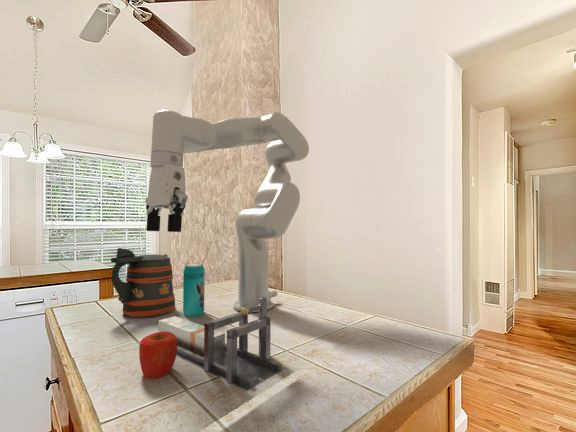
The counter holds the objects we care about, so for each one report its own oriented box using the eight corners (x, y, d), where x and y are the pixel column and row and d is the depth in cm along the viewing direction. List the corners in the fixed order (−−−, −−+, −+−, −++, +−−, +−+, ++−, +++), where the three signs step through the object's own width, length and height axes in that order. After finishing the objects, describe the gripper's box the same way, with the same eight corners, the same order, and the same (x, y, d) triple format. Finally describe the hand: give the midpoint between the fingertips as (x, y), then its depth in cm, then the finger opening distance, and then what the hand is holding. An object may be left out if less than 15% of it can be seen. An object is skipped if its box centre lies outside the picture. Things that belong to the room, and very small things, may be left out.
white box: (158, 338, 68) (158, 320, 68) (174, 333, 71) (175, 316, 71) (208, 360, 57) (208, 339, 57) (225, 353, 60) (225, 333, 60)
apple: (174, 385, 50) (174, 339, 51) (134, 389, 49) (134, 342, 49) (179, 367, 56) (180, 326, 57) (143, 370, 55) (144, 329, 55)
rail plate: (181, 333, 74) (181, 325, 74) (283, 374, 54) (283, 362, 54) (145, 345, 67) (145, 336, 67) (247, 396, 47) (247, 383, 47)
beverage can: (198, 321, 83) (198, 266, 84) (179, 319, 85) (179, 265, 85) (207, 314, 89) (208, 263, 89) (189, 313, 90) (190, 263, 91)
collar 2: (265, 366, 57) (265, 316, 57) (270, 368, 56) (270, 317, 56) (226, 387, 50) (226, 330, 50) (231, 389, 49) (231, 332, 49)
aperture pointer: (262, 356, 61) (262, 296, 61) (268, 359, 60) (268, 297, 60) (239, 368, 56) (239, 302, 56) (245, 370, 55) (245, 304, 55)
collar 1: (243, 357, 61) (243, 311, 61) (247, 359, 60) (247, 312, 60) (203, 375, 53) (204, 323, 54) (208, 378, 53) (208, 324, 53)
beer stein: (134, 326, 79) (135, 249, 80) (96, 319, 85) (97, 247, 85) (185, 307, 97) (185, 244, 97) (150, 303, 102) (151, 243, 103)
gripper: (201, 161, 73) (197, 232, 72) (162, 169, 84) (159, 231, 83) (172, 154, 67) (168, 231, 66) (135, 163, 78) (131, 230, 77)
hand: (163, 231), depth 74 cm, fingers open, 9 cm apart
